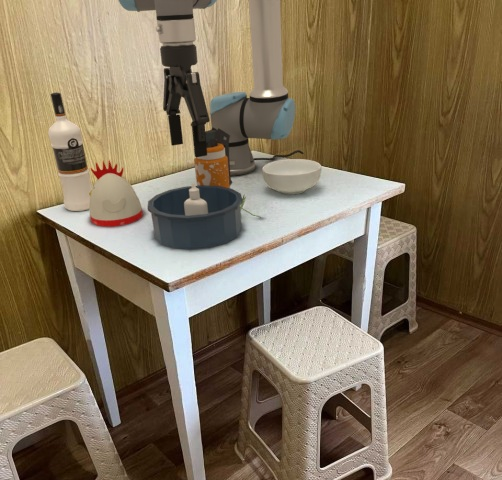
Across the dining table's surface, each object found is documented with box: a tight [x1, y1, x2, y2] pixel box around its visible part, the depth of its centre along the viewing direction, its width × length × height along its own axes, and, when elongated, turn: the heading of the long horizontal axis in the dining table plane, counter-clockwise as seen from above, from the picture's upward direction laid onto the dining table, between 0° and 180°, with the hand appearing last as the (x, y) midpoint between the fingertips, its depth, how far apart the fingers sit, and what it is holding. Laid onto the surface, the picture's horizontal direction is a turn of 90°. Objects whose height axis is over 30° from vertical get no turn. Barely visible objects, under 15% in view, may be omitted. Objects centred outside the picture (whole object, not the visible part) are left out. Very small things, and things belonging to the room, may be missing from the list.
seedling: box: [240, 194, 262, 219], centre depth 134 cm, size 7×8×7 cm
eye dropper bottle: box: [184, 182, 208, 216], centre depth 126 cm, size 4×6×12 cm
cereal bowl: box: [261, 158, 322, 195], centre depth 151 cm, size 17×17×7 cm
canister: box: [193, 127, 233, 188], centre depth 140 cm, size 9×11×20 cm
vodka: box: [47, 92, 93, 212], centre depth 141 cm, size 9×9×30 cm
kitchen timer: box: [88, 159, 144, 228], centre depth 136 cm, size 14×14×15 cm
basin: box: [147, 185, 243, 250], centre depth 127 cm, size 23×23×8 cm
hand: (188, 150), depth 118 cm, fingers open, 13 cm apart
